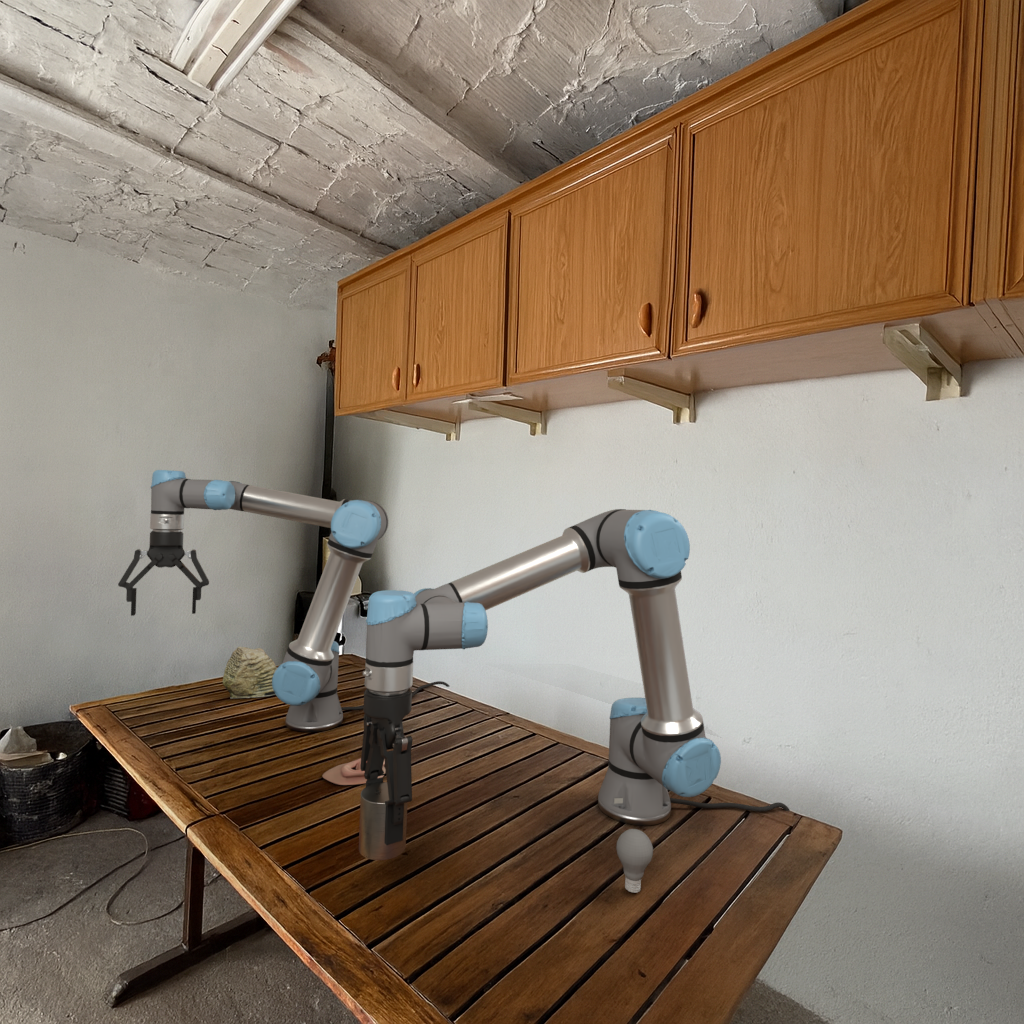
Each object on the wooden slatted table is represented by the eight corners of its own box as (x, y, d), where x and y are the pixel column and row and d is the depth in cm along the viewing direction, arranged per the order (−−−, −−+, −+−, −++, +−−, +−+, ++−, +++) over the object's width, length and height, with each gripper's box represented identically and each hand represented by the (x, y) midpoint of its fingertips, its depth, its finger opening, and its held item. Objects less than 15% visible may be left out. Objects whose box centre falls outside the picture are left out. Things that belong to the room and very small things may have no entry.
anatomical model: (316, 763, 140) (340, 744, 151) (315, 781, 140) (339, 761, 151) (372, 771, 137) (392, 751, 149) (371, 789, 138) (391, 768, 149)
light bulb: (610, 879, 108) (613, 822, 108) (644, 879, 109) (647, 822, 109) (619, 902, 102) (622, 840, 102) (655, 901, 103) (658, 840, 103)
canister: (376, 831, 106) (378, 778, 106) (414, 841, 104) (416, 787, 103) (349, 853, 100) (351, 796, 99) (388, 865, 97) (391, 807, 97)
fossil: (218, 695, 195) (220, 647, 195) (278, 685, 208) (279, 640, 207) (228, 703, 189) (230, 653, 188) (289, 692, 201) (290, 645, 201)
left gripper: (106, 530, 153) (104, 618, 153) (220, 532, 163) (217, 614, 163) (111, 528, 159) (109, 612, 160) (220, 530, 170) (218, 609, 170)
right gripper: (343, 675, 107) (338, 808, 108) (392, 711, 91) (387, 868, 91) (384, 670, 112) (379, 798, 112) (439, 703, 95) (433, 853, 95)
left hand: (164, 613), depth 162 cm, fingers open, 13 cm apart
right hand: (383, 829), depth 102 cm, fingers closed on canister, 7 cm apart
